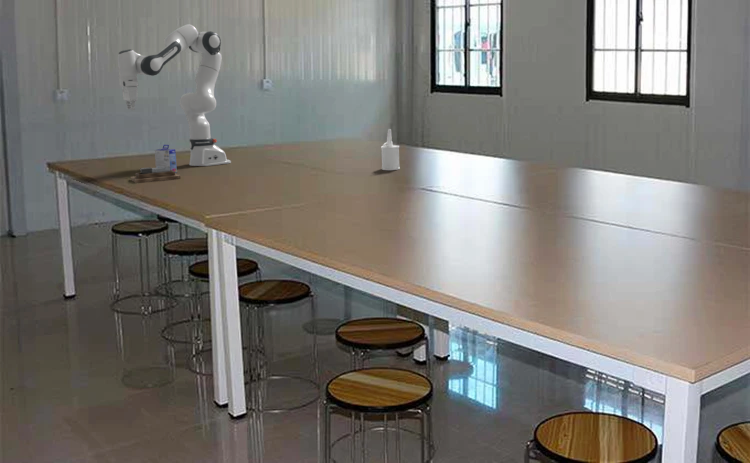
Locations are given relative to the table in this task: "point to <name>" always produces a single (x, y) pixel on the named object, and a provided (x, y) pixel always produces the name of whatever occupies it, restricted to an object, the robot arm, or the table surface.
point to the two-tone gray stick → (154, 170)
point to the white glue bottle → (390, 154)
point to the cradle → (155, 177)
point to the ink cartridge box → (166, 158)
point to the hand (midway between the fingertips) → (131, 109)
